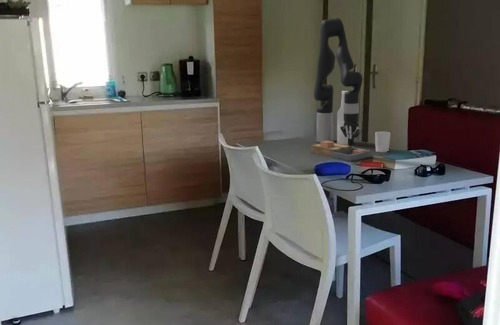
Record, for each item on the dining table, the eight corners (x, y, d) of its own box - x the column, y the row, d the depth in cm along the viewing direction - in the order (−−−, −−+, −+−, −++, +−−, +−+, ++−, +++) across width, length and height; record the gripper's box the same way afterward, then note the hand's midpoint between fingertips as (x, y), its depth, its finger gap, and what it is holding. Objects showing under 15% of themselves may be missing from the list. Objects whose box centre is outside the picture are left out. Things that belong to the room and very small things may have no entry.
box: (352, 152, 271) (353, 147, 271) (371, 156, 262) (371, 150, 261) (331, 157, 262) (331, 152, 261) (350, 161, 253) (350, 155, 252)
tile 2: (366, 150, 262) (366, 155, 263) (358, 149, 266) (358, 153, 266) (360, 151, 259) (360, 156, 259) (352, 150, 263) (352, 155, 263)
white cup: (372, 152, 272) (373, 133, 270) (376, 149, 279) (377, 131, 276) (387, 153, 268) (388, 134, 266) (391, 150, 275) (392, 131, 273)
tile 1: (327, 145, 273) (327, 140, 273) (334, 146, 270) (334, 141, 269) (320, 146, 270) (320, 141, 270) (327, 147, 267) (327, 143, 266)
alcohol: (333, 143, 298) (334, 91, 292) (346, 141, 302) (347, 90, 295) (342, 145, 291) (343, 92, 284) (355, 144, 294) (356, 91, 287)
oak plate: (329, 148, 283) (329, 141, 282) (351, 153, 271) (351, 145, 270) (310, 152, 275) (310, 145, 274) (333, 157, 262) (333, 149, 261)
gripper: (366, 112, 258) (365, 146, 262) (346, 110, 268) (345, 143, 272) (356, 114, 254) (355, 148, 258) (336, 111, 264) (336, 145, 268)
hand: (350, 145), depth 265 cm, fingers closed
